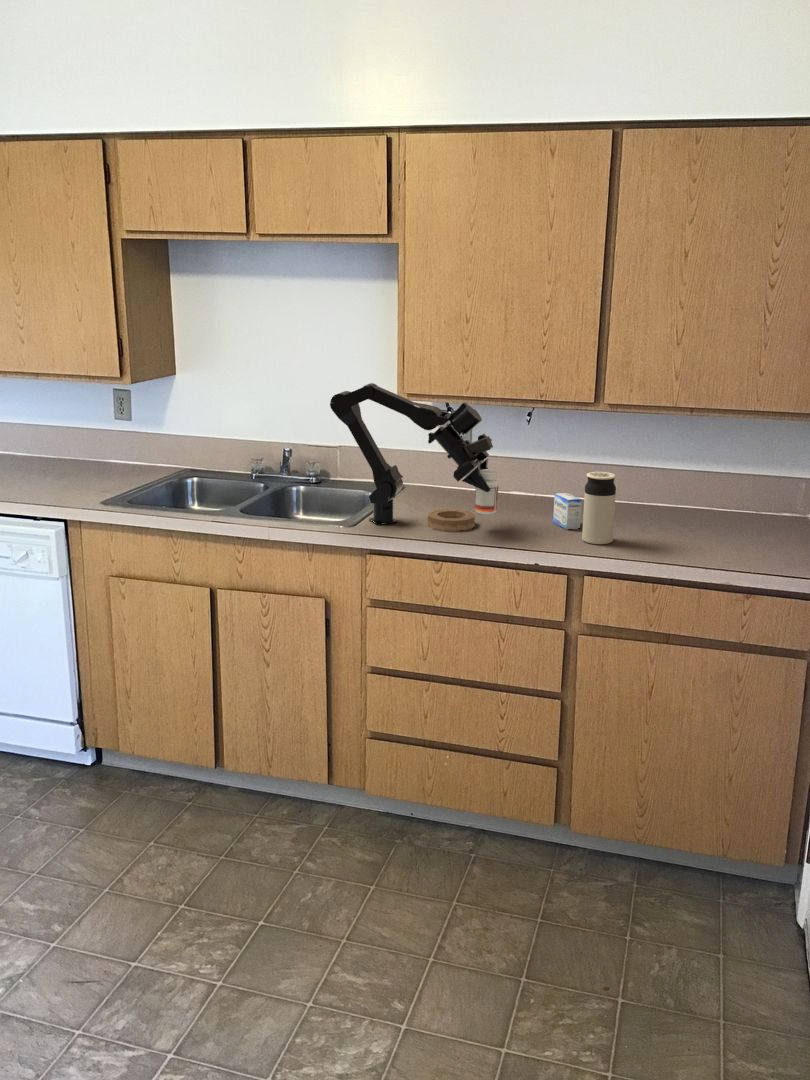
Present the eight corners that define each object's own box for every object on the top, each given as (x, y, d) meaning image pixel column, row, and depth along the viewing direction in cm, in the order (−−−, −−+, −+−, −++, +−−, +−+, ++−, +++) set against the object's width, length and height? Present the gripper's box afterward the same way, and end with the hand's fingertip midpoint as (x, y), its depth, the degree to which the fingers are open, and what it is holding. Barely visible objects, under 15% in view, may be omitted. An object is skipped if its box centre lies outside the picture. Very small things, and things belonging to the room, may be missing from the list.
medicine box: (552, 523, 283) (553, 493, 281) (566, 522, 285) (568, 492, 283) (566, 530, 276) (568, 499, 274) (580, 529, 278) (582, 498, 275)
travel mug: (590, 546, 262) (594, 478, 257) (576, 538, 269) (580, 472, 264) (617, 543, 264) (622, 476, 259) (603, 535, 271) (607, 470, 266)
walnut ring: (420, 521, 284) (420, 511, 283) (460, 517, 289) (461, 507, 289) (441, 533, 273) (441, 522, 272) (483, 528, 278) (483, 517, 277)
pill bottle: (484, 507, 279) (486, 467, 276) (501, 511, 275) (503, 471, 272) (469, 511, 274) (471, 470, 271) (487, 515, 270) (489, 474, 267)
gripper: (467, 431, 261) (506, 477, 261) (483, 420, 278) (520, 463, 278) (437, 458, 265) (475, 503, 265) (454, 446, 282) (490, 488, 282)
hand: (491, 488), depth 272 cm, fingers closed on pill bottle, 6 cm apart
